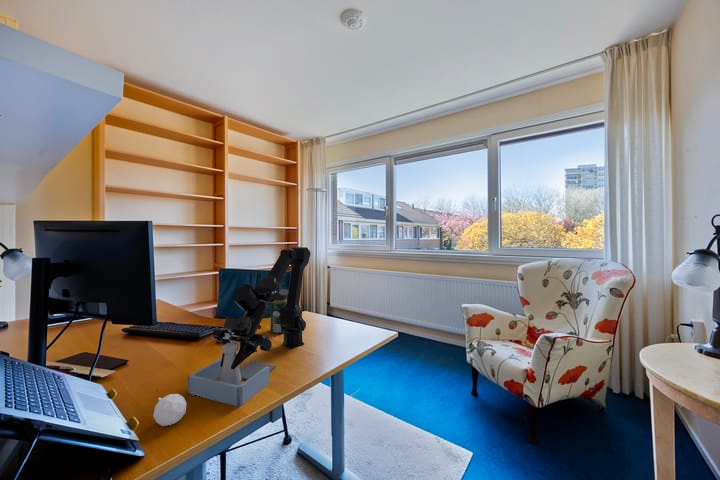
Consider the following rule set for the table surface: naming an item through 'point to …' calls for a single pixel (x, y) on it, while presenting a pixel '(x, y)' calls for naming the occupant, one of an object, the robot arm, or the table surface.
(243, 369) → the coaster
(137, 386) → the table surface
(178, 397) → the ornament
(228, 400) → the cradle
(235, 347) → the salt shaker
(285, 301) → the coffee jar
